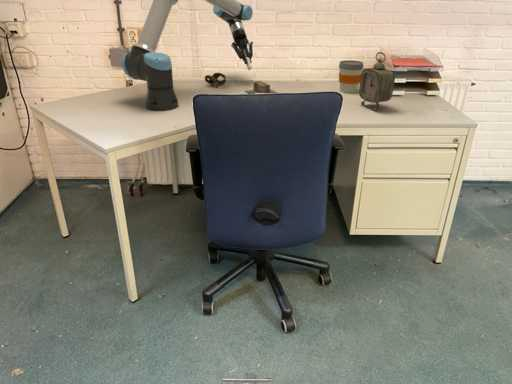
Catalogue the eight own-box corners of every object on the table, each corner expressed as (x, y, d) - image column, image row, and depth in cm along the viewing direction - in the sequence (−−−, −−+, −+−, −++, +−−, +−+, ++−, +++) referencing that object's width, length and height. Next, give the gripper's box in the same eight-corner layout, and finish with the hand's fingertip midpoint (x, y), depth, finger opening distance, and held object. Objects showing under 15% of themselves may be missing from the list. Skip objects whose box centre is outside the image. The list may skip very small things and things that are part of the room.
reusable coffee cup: (335, 93, 214) (338, 64, 207) (337, 87, 225) (340, 59, 218) (359, 94, 211) (363, 65, 204) (360, 89, 222) (363, 61, 215)
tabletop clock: (357, 104, 195) (364, 50, 183) (372, 102, 198) (380, 49, 186) (374, 112, 183) (383, 55, 171) (391, 110, 186) (401, 54, 174)
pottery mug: (224, 84, 232) (227, 73, 225) (223, 95, 226) (226, 84, 220) (204, 79, 229) (206, 67, 223) (202, 90, 224) (204, 78, 217)
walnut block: (253, 89, 217) (261, 94, 208) (253, 81, 215) (262, 85, 206) (260, 89, 219) (269, 93, 210) (260, 80, 216) (269, 85, 208)
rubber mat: (253, 96, 207) (253, 95, 206) (245, 91, 215) (245, 90, 215) (277, 93, 212) (277, 92, 212) (268, 89, 221) (268, 88, 220)
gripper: (247, 37, 233) (258, 71, 228) (226, 37, 228) (237, 73, 223) (251, 28, 227) (262, 63, 221) (229, 28, 222) (241, 65, 216)
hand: (250, 68), depth 222 cm, fingers closed
